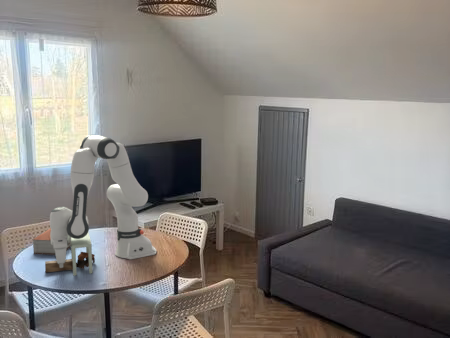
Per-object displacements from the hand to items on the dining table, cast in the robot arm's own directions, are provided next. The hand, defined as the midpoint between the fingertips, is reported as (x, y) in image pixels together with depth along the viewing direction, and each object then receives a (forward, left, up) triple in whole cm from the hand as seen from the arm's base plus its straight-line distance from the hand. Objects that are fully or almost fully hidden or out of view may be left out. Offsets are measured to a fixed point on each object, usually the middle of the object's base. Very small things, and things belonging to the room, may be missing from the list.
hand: (61, 265), depth 213 cm
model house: (+2, -35, -3) cm, 35 cm away
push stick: (0, 0, -2) cm, 2 cm away
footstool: (-10, 0, -2) cm, 10 cm away
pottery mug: (-11, +1, -3) cm, 11 cm away
